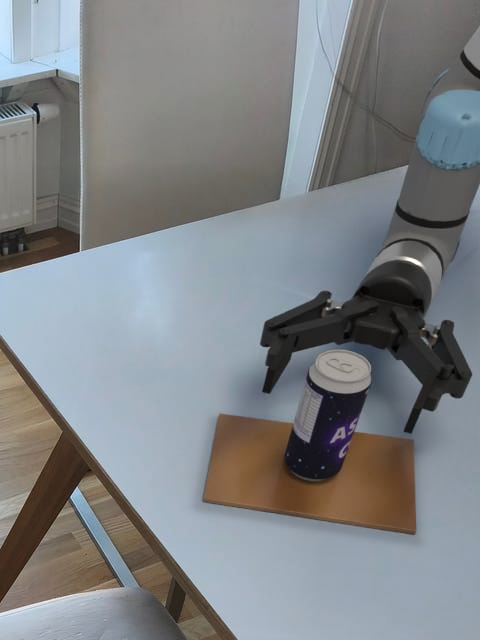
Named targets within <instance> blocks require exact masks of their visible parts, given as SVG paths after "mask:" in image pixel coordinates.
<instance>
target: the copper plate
mask: <svg viewBox="0 0 480 640" xmlns="http://www.w3.org/2000/svg"><path fill="white" fill-rule="evenodd" d="M293 423H294V422H288V421H287V422H286V421H279V420H273V419H272V420H271V419H263V418H256V417H249V416H241V415H234V414H227V413H219V414H218V418H217V425H216V430H215V434H214V440H213V445H212V449H211V450H212V451H211V455H210V456H211V457H210V461H209V465H208V472H207V477H206V483H205V488H204V494H203V499H202V502H204V503H207V504H215V505H221V506H227V507H234V508H241V509H248V510H253V511H254V510H255V511H259V512H260V511H261V512H266V513H273V514H280V515H286V516H292V517H293V516H294V517H299V518H305V519H313V520H319V521H326V522H332V523H338V524H344V525H350V526H357V527H364V528H369V529H370V528H371V529H375V530H376V529H377V530H383V531H389V532H397V533H402V534H410V535H416V533H417V509H416V508H417V506H416V505H417V504H416V477H415V476H416V475H415V473H416V471H415V446H414V445H415V444H414V439H413V438H412V439H411V438H403V437H396V436H390V435H381V434H375V433H373V434H372V433H367V432H359V431H354V434H353V437H352V440H351V443H350V446H349V448H348V451H347V454H346V457H345V460H344V463H343V465H342V468H341V470H340V472H339V473H338V474H336V475H335V476H333V477H330V478H327V479H324V480H321V481H308V480H304V479H301V478H299V477H298V476H296V475H295V474H294V473H293V472H292V471H291V470H290V469H289V467H288V466H287V465H286V463H285V460H284V455H285V451H286V448H287V444H288V441H289V437H290V433H291V430H292V426H293Z"/></svg>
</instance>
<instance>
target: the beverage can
mask: <svg viewBox="0 0 480 640" xmlns="http://www.w3.org/2000/svg"><path fill="white" fill-rule="evenodd" d="M371 372H372V366H371V364H370V361H369V360H368V359H367V358H366V357H364V356H363V355H361V354H359V353H358V352H355V351H352V350H347V349H329V350H326V351H324V352H322V353H320V354H319V355H318V356H317V357H316V358H315V361H314V362H313V363H312V365H311V366H310V367H309V368H308V370H307V374H306V376H305V377H306V378H305V381H304V384H303V388H302V392H301V395H300V397H299V402H298V405H297V409H296V412H295V416H294V420H293V422H292V423H293V426H292V430H291V433H290V437H289V441H288V444H287V448H286V451H285V455H284V460H285V463H286V465H287V466H288V467H289V469H290V470H291V471H292V472H293V473H294V474H295V475H296V476H298V477H299V478H301V479H304V480H308V481H321V480H324V479H327V478H330V477H333V476H335V475H336V474H338V473H339V472H340V470H341V468H342V465H343V463H344V460H345V457H346V454H347V451H348V448H349V446H350V443H351V440H352V437H353V434H354V432H356V428H357V426H358V422H359V419H360V417H361V415H362V411H363V408H364V406H365V403H366V400H367V397H368V394H369V392H370V389H371V386H372V382H373V381H372V376H371Z"/></svg>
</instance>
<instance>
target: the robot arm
mask: <svg viewBox="0 0 480 640" xmlns="http://www.w3.org/2000/svg"><path fill="white" fill-rule="evenodd" d="M420 115H421V116H420V120H419V121H420V122H419V126H418V130H417V133H416V136H415V140H414V144H413V148H412V153H411V156H410V159H409V163H408V166H407V169H406V172H405V176H404V179H403V183H402V185H401V186H402V187H401V189H400V193H399V197H398V199H397V200H396V204H395V208H394V210H393V214H392V217H391V220H390V223H389V226H388V229H387V233H386V235H385V238H384V242H383V243H382V246H381V248H380V250H379V251H378V253H377V255H376V256H375V258H374V260H373V262H372V263H371V265H370V267H369V268H368V269H367V271H366V273H365V275H364V276H363V279H362V280H361V282H360V283H359V285H358V287H357V288H356V290H355V292H354V293H353V296H352V297H351V298H350V299H349V300H346V301H344V302H339V301H337V300H333V299H331V298H332V296H333V294H332V292H331V291H330V290H321V291H320V292H319V293H318V294H316V296H315V297H314V298H313V299H311V300H308V301H306V302H305V303H302V304H300V305H298V306H296V307H293V308H291V309H289V310H286V311H284V312H282V313H280V314H277V315H275V316H273V317H271V318H269V319H267V320H265V321H264V323H263V327H262V332H261V337H260V341H259V345H260V346H261V347H262V348H268V349H267V353H266V356H265V357H266V358H265V362H264V364H265V365H264V366H265V367H267V369H266V374H265V378H264V379H265V380H264V383H263V387H262V391H261V392H262V393H264V394H268V395H270V394H271V393H272V391H273V389H274V388H275V386H276V385H277V383H278V381H279V379H280V378H281V377H282V375H283V373H284V371H285V370H286V368H287V367H288V365H289V364H290V362H291V359H292V355H293V354H294V353H297V352H302V351H305V350H309V349H313V348H317V347H322V346H324V345H328V344H333V343H334V344H335V345H337V346H340V345H344V344H348V343H352V342H354V343H356V344H359V345H367V346H371V347H374V348H376V349H379V350H383V351H385V350H387V351H388V352H389V354H391V356H392V357H393V358H394V359H395V361H402V363H403V364H404V366H405V367H407V368H408V370H409V371H410V372H411V374H412V375H413V376H414V377H415V378H416V379H417V380H418V382H419V383H420V384H421V388H420V391H419V393H418V395H417V398H416V399H415V402H414V404H413V407H412V409H411V411H410V414H409V416H408V419H407V421H406V424H405V426H404V428H403V431H402V432H403V433H406V434H409V435H413V431H414V429H415V428H416V425H417V422H418V419H419V418H420V416H421V414H422V411H423V410H425V411H429V412H434V411H436V410H437V408H438V406H439V404H440V401H441V399H442V397H443V395H445V394H446V395H447V394H448V395H449V396H450V397H452V398H453V399H462V398H463V397H464V395H465V394H466V390H467V389H468V385H469V384H470V381H471V379H472V377H473V371H472V370H471V368H470V366H469V364H468V362H467V359H466V358H465V355H464V353H463V351H462V349H461V347H460V345H459V343H458V341H457V338H456V337H455V335H454V329H455V323H454V321H453V320H450V319H443V320H442V321H441V323H440V325H434V324H428V323H426V320H425V316H426V314H427V312H428V310H429V308H430V306H431V304H432V302H433V299H434V297H435V296H436V293H437V292H438V289H439V287H440V285H441V282H442V279H443V277H444V276H445V274H446V272H447V270H448V267H449V266H450V264H451V263H452V262H453V261H454V259H455V256H456V254H457V252H458V249H459V246H460V243H461V240H462V238H461V237H462V233H463V232H464V228H465V225H466V223H467V221H468V219H469V218H468V217H469V215H470V211H471V207H472V205H473V202H474V199H475V198H476V195H477V192H478V190H479V188H480V25H479V26H478V27H477V29H476V30H475V31H474V33H473V34H472V36H471V37H470V39H469V40H468V41H467V43H466V45H465V46H464V48H463V50H462V51H461V52H460V53H459V55H458V56H457V57H456V58H455V60H454V62H453V63H452V64H451V66H450V67H448V68H447V69H446V70H445V71H443V72H442V73H441V74H440V75H438V77H437V78H436V79H435V81H434V82H433V84H432V85H431V87H430V89H429V91H428V92H427V94H426V95H425V98H424V99H423V105H422V107H421V114H420ZM424 339H425V340H426V341H425V340H424Z"/></svg>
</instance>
